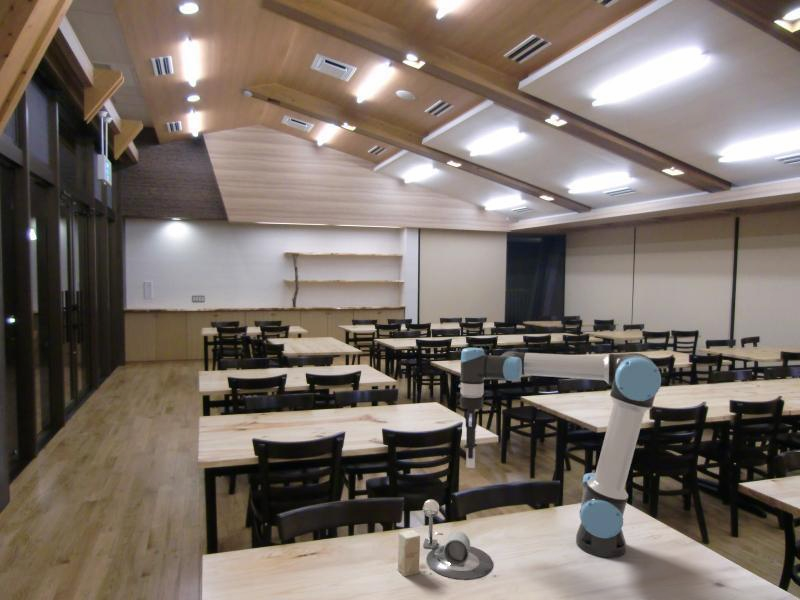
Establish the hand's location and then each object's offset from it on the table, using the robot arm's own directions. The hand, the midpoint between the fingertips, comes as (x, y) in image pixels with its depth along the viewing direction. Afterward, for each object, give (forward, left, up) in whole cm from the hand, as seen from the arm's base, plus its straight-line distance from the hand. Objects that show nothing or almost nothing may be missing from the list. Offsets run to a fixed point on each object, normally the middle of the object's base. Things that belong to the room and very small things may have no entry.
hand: (470, 466), depth 172 cm
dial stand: (+12, +6, -24) cm, 28 cm away
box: (+16, +23, -25) cm, 37 cm away
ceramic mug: (+4, +14, -24) cm, 28 cm away
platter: (+2, +14, -24) cm, 28 cm away
